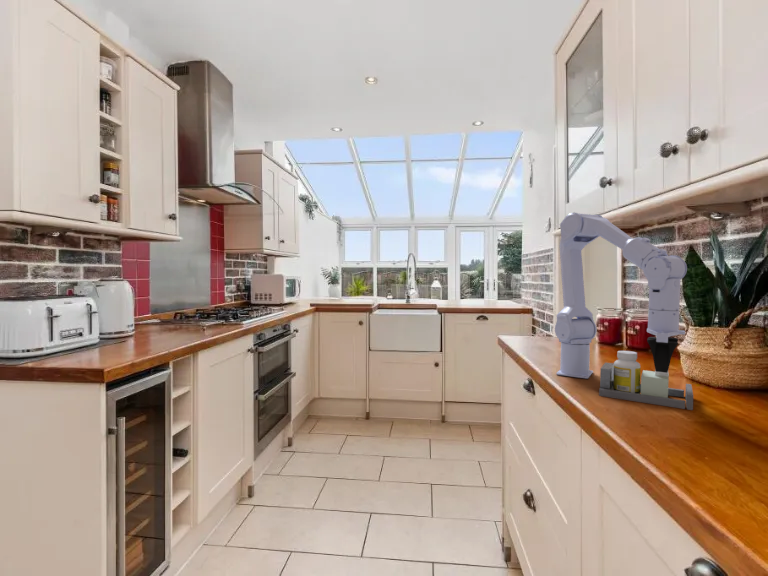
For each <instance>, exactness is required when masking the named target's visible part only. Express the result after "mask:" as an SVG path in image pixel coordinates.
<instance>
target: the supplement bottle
mask: <svg viewBox="0 0 768 576" xmlns="http://www.w3.org/2000/svg"><path fill="white" fill-rule="evenodd" d="M616 357H617V359H616V360H615V361H614V362H613V363H614V379H613V380H614V381H613V390H616V391H623V392H630V393H636V394H641V391H640V384H641V363H639V362H638V361H637V359H638V352H637V351H631V350H618V351H617V354H616Z"/></svg>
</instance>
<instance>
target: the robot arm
mask: <svg viewBox="0 0 768 576" xmlns="http://www.w3.org/2000/svg"><path fill="white" fill-rule="evenodd" d="M559 228H560V241H559V256H560V257H559V260H560V274H561V286H562V298H563V299H562V301H563V302H562V303H563V308H562V309H561V310H560V311H559V312H558V313H557V314H556V322H555V324H554V333H555V336H556V338H557V339H558V342H560V364H559V365H560V369H559V370H558V371H557V372H556V373H555V374H556V375H558V376H563V377H572V378H579V379H586V380H587V379H589V378H590V377H591V375H592V374H593V373H594V370H593V369H592V370H591V369H590V361H591V360H590V359H591V358H590V356H591V354H590V353H591V351H590V345H591V343H592V340H593V339H594V338H595V337H596V335H597V332H598V331H597V329H598V328H597V324H596V322H595V320H594V317H593V316H594V314H593V313H592V312H591V311H590V309H588V308H587V307H586V294H585V285H584V283H585V282H584V270H583V257H582V256H583V255H582V251H583V249H584V248H585V247H586V246H587V245H589V244H590V243H591V242H593V241H595V240H596V239H597V238H599V237H600V238H602V239H604V240H606V241H607V242H609V243H611V244H612V245H614V247H618V248H619V249H621V250H622V257H623V258H625V260H627V261H629V262H630V263H632V264H633V265H634V266H636V267H637V268H638V269H640V270H642V272H643V275H644V277H645V278H646V280H647V286H648V313H647V328H646V332H647V333H649V334H651V335H654V336H655V337H654V336H648V337H647V339H646V340H647V341H646V342H647V344H648V345H649V348H650V351H651V354H652V359H653V365H654V371H655V370H656V371H657V372H665V373H667V371H668V372H669V368H670V363H671V359H672V356H673V353H674V352H675V350H676V348H677V346H678V345H679V342H678V341H679V338H677V337H673V336H678V335H686V331H685V330H681V329H680V304H681V301H680V300H681V280H682V279H684V277H685V276H686V274H687V271H688V266H687V263H686V261H685V260H684V259H683V258H682V257H681V256H679V255H675V254H674V255H673V254H672V255H668V253H667V252H668V251H667V250H666V249H663V248H659V247H657V246H656V245H654V244H653V243H651V240H652V239H650V238H648V237H640V236H638V237H631V236H630V235H628V234H627V233H626V232H625V231H623V230H621V228H619V227H618V226H616V225H614V224H613V223H612V222H611V221H610V220H609V218H606V217H604V216H602V215H600V214H591V213H589V214H588V213H578V212H575V211H574V212H570V213H568V214H566V216H565V217H564V218H563V219H562V221H561V222H560V223H559Z"/></svg>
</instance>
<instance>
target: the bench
mask: <svg viewBox="0 0 768 576" xmlns="http://www.w3.org/2000/svg"><path fill="white" fill-rule="evenodd" d="M599 374H600V378H599V382H600V383H599V389H598V396H599V397H605V398H611V399H612V398H613V399H619V400H626V401H632V402H638V403H643V404H651V405H656V406H663V407H669V408H670V407H671V408H676V409H682V410H685V409H686V410H688V411H689V410H690V411H693V410H694V392H693V386H692V384H691V383H685V389H680V388H673V387H668V396H670V397H671V396H672V397H679V398H685V400H683V399H677V398H669V397H668V398H664V397H657V396H650V395H643V394H641V393H640V394H636V393H630V392H623V391H616V390H613V381H614V380H613V379H614V362H604V364H603V365H602V366H601V367H600V372H599ZM640 392H641V383H640Z"/></svg>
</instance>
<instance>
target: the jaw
mask: <svg viewBox="0 0 768 576" xmlns="http://www.w3.org/2000/svg"><path fill="white" fill-rule="evenodd" d="M669 374H670V373H669V370H668V371H667V373H665V372H657V371H656V370H655V369H654V371H652V370H647V369H646V370H644V369H643V370H642V373H641V374H640V384H641V391H640V394H643V395H650V396H657V397H664V398H669V395H668V388H669V379H670V378H669V377H670V375H669Z"/></svg>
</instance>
